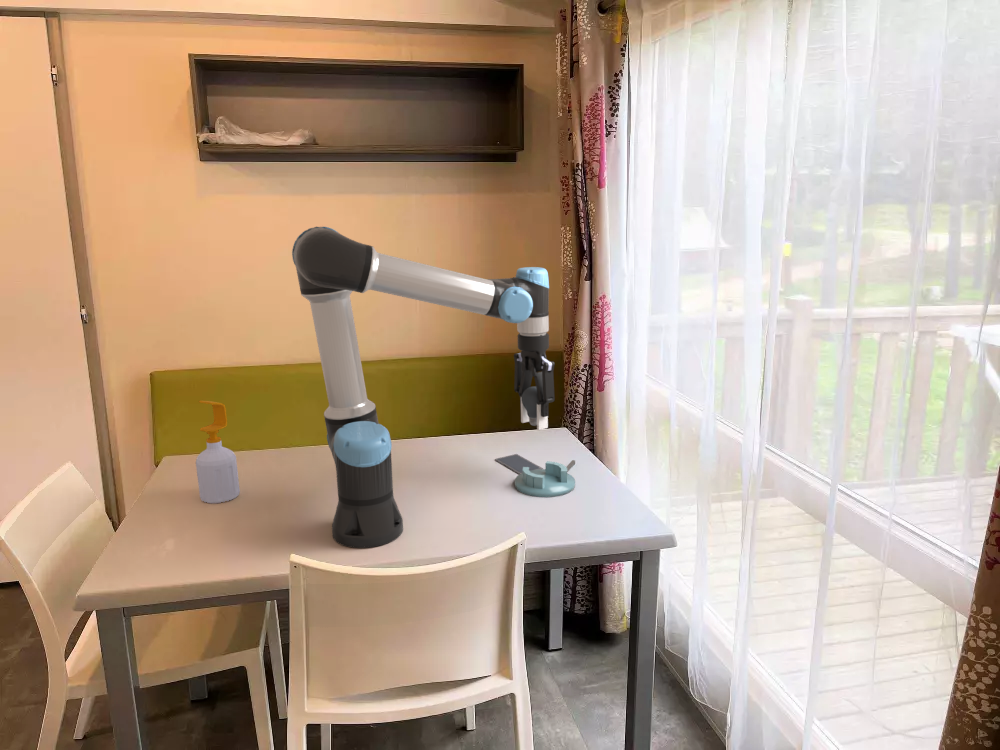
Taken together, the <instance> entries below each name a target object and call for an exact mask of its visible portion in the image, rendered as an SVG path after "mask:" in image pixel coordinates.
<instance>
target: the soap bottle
mask: <svg viewBox="0 0 1000 750" xmlns="http://www.w3.org/2000/svg"><path fill="white" fill-rule="evenodd" d="M198 403H201V404H206V405H211V406H212V413H213V423H211V424H209V425H206V426H203V427H200V429H199V431H200V432H204V433H205V432H206V435H207V434H208V435H209V437H208V438H206V449H204V450H202V451H201V452H200V453H199V454H198V455H197V457H196V459H195V460H196V461H195V467H196V469H195V470H196V474H197V475H196V476H197V483H198V491H199V499H200V500H201V502H203V501H204V502H203V503H206V502H207V504H221V502H223V503H226V502H225V501H227V502H229V500H230V501H232V500H234V499H236V498H237V497H238V496H239V495H240V492H241V491H240V479H239V473H238V464H237V463H238V462H237V461H238V460H237V456H236V454H235V452H234V451H233V450H232V449H230V448H227V447H225V446H223V444H222V438H221V436H218V433H220V430H222V429H225V428H226V427H227V426H228V416H227V408H226V405H225V403H222V402H217V401H211V400H198Z"/></svg>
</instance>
